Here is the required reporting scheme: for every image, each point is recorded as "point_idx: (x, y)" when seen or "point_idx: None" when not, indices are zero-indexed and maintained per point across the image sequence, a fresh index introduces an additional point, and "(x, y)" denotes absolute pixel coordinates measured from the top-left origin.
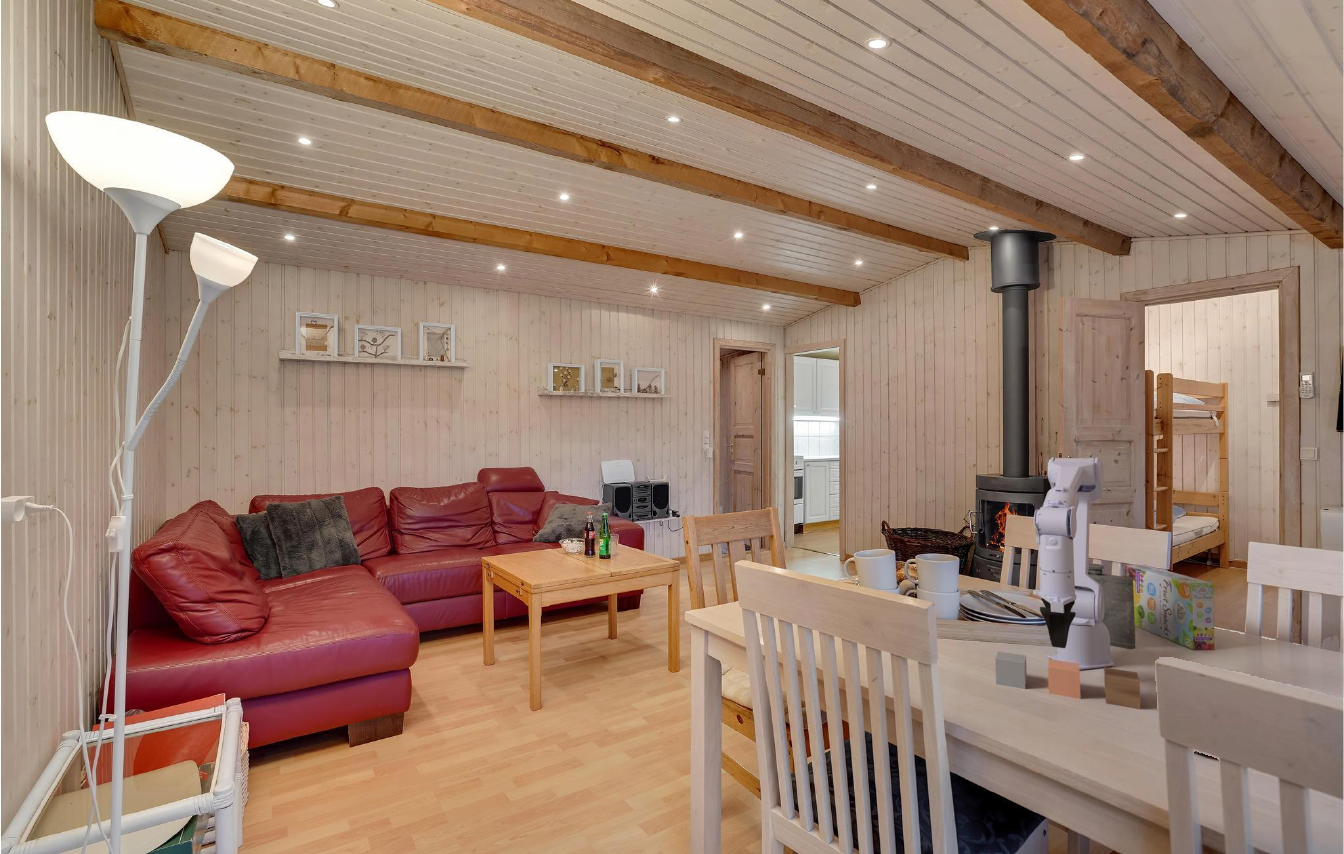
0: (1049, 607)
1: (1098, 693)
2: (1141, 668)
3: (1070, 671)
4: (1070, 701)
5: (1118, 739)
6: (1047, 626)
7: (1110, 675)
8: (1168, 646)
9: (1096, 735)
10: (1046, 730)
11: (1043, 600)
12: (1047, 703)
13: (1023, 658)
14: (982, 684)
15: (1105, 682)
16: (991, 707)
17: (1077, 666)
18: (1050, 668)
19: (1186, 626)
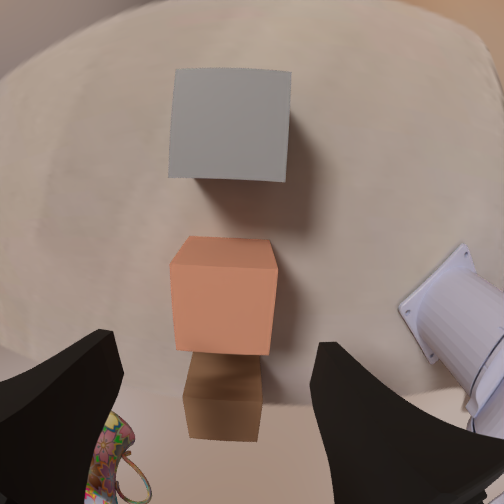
0: (385, 469)
1: None
2: (422, 391)
3: (174, 326)
4: (157, 284)
5: (44, 334)
6: (16, 376)
7: (197, 405)
8: None
9: (34, 307)
10: (6, 232)
11: (428, 499)
12: (113, 232)
13: (236, 171)
14: (172, 63)
15: (189, 384)
16: (41, 120)
17: (233, 349)
18: (170, 269)
19: None
